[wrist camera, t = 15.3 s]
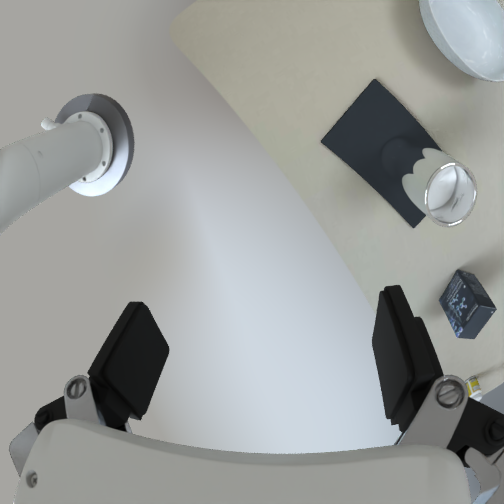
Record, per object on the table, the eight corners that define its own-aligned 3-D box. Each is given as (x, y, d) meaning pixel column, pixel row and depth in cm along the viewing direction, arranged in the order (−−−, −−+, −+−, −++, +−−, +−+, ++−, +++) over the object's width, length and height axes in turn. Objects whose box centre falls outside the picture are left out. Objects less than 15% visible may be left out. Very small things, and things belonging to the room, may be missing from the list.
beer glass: (425, 142, 31) (486, 173, 18) (413, 186, 35) (464, 235, 22) (383, 128, 31) (435, 150, 19) (372, 174, 35) (413, 221, 22)
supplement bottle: (466, 385, 62) (473, 405, 55) (462, 383, 61) (468, 403, 54) (477, 377, 60) (484, 396, 53) (473, 374, 59) (480, 395, 52)
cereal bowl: (506, 62, 20) (532, 64, 14) (450, 96, 27) (477, 99, 21) (450, -26, 14) (472, -37, 8) (383, -2, 21) (401, -18, 15)
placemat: (320, 141, 34) (321, 142, 34) (373, 79, 29) (375, 78, 28) (412, 226, 39) (413, 228, 38) (459, 175, 33) (460, 176, 32)
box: (456, 268, 41) (481, 305, 32) (474, 273, 41) (498, 308, 32) (437, 300, 46) (456, 338, 37) (455, 303, 46) (474, 340, 37)
